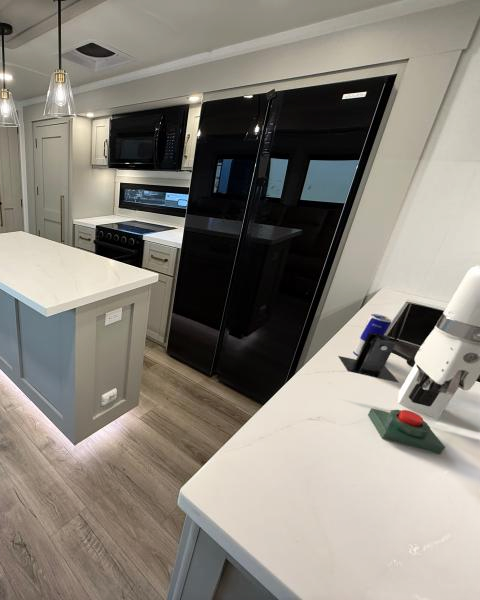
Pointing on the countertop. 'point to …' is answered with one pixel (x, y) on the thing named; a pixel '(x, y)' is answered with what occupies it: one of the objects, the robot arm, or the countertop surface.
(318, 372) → the countertop surface
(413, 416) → the button
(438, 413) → the milk carton
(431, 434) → the button box
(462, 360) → the robot arm
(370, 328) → the beverage can
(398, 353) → the lever
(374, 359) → the bracket
